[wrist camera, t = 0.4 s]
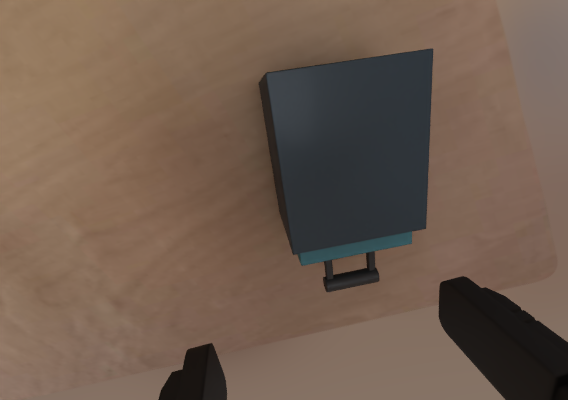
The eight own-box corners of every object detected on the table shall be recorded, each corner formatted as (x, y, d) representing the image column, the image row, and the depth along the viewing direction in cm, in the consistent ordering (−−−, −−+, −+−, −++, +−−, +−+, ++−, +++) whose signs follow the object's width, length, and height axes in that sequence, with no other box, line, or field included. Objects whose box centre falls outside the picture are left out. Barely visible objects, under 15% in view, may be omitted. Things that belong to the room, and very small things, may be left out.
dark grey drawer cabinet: (377, 194, 30) (426, 228, 22) (279, 212, 29) (293, 255, 21) (373, 65, 25) (433, 48, 17) (258, 82, 24) (265, 72, 16)
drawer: (376, 251, 31) (411, 289, 25) (294, 268, 30) (308, 312, 24) (372, 98, 25) (415, 97, 19) (271, 114, 25) (280, 118, 18)
